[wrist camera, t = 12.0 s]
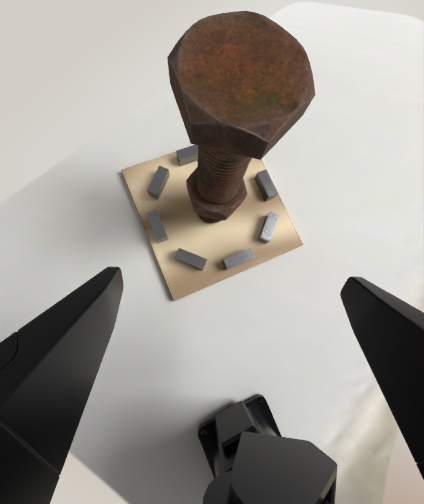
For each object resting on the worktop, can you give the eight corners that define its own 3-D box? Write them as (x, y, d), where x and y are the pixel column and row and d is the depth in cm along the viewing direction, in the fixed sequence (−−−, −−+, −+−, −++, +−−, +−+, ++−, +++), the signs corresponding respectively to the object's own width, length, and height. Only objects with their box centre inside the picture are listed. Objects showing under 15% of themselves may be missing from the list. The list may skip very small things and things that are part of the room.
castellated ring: (294, 241, 23) (299, 238, 22) (178, 290, 21) (177, 290, 20) (243, 135, 25) (245, 128, 24) (130, 173, 23) (127, 167, 22)
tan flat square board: (300, 246, 24) (303, 244, 23) (174, 300, 22) (173, 300, 21) (245, 132, 26) (246, 128, 25) (123, 172, 24) (121, 169, 23)
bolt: (244, 229, 23) (336, 119, 8) (196, 244, 22) (203, 153, 8) (226, 177, 24) (279, -8, 9) (179, 190, 23) (154, 13, 8)
